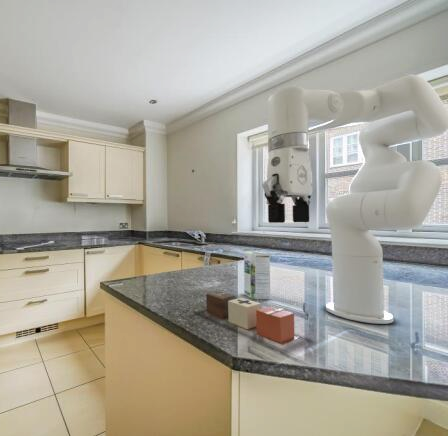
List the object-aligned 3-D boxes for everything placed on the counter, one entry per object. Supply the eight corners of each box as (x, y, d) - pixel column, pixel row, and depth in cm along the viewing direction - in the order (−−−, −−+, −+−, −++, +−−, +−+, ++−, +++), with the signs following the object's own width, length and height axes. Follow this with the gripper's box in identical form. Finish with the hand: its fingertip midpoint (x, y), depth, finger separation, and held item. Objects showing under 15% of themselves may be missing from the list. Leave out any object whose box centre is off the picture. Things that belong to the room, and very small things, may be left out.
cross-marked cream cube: (241, 317, 62) (241, 297, 62) (261, 324, 57) (260, 302, 57) (228, 321, 59) (228, 300, 59) (247, 329, 55) (247, 306, 55)
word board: (220, 307, 70) (220, 306, 70) (308, 340, 51) (308, 337, 51) (196, 313, 66) (196, 311, 66) (283, 351, 46) (283, 349, 46)
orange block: (271, 328, 55) (270, 305, 56) (295, 337, 51) (294, 312, 51) (255, 333, 53) (255, 309, 53) (279, 343, 48) (279, 317, 48)
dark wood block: (219, 309, 68) (219, 290, 68) (235, 315, 63) (235, 295, 63) (206, 312, 65) (206, 293, 65) (222, 318, 61) (221, 298, 61)
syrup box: (243, 294, 83) (242, 251, 83) (261, 294, 82) (260, 251, 83) (252, 299, 77) (251, 253, 77) (271, 299, 77) (270, 253, 77)
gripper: (283, 135, 48) (285, 222, 48) (326, 147, 56) (328, 222, 56) (247, 145, 55) (249, 222, 54) (290, 155, 63) (292, 222, 63)
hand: (289, 222), depth 55 cm, fingers open, 9 cm apart
